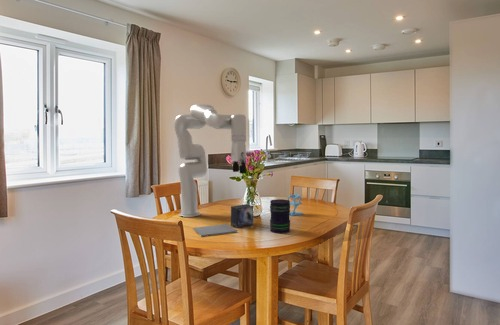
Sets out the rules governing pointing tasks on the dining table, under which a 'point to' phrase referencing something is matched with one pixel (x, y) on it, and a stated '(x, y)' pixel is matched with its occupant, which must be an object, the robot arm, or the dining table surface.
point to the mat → (214, 230)
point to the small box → (241, 215)
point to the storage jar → (280, 216)
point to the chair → (295, 204)
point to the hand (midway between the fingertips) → (239, 172)
